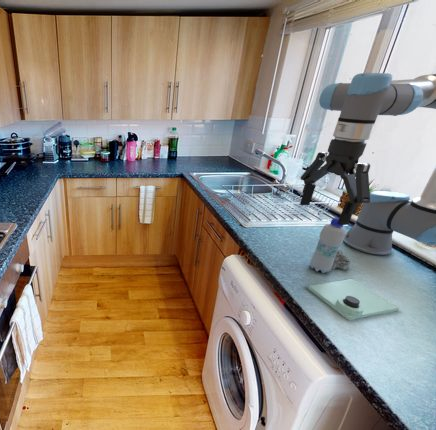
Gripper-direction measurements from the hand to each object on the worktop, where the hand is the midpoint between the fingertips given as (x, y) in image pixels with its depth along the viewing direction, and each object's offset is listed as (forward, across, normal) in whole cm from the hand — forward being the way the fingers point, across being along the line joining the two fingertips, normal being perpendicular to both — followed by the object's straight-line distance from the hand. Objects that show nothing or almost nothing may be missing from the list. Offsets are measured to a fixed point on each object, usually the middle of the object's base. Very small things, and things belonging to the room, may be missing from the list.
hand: (322, 213), depth 83 cm
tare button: (+23, +13, +6) cm, 27 cm away
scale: (+26, +9, +12) cm, 29 cm away
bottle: (+26, -6, +14) cm, 30 cm away
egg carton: (+26, -10, +23) cm, 36 cm away
